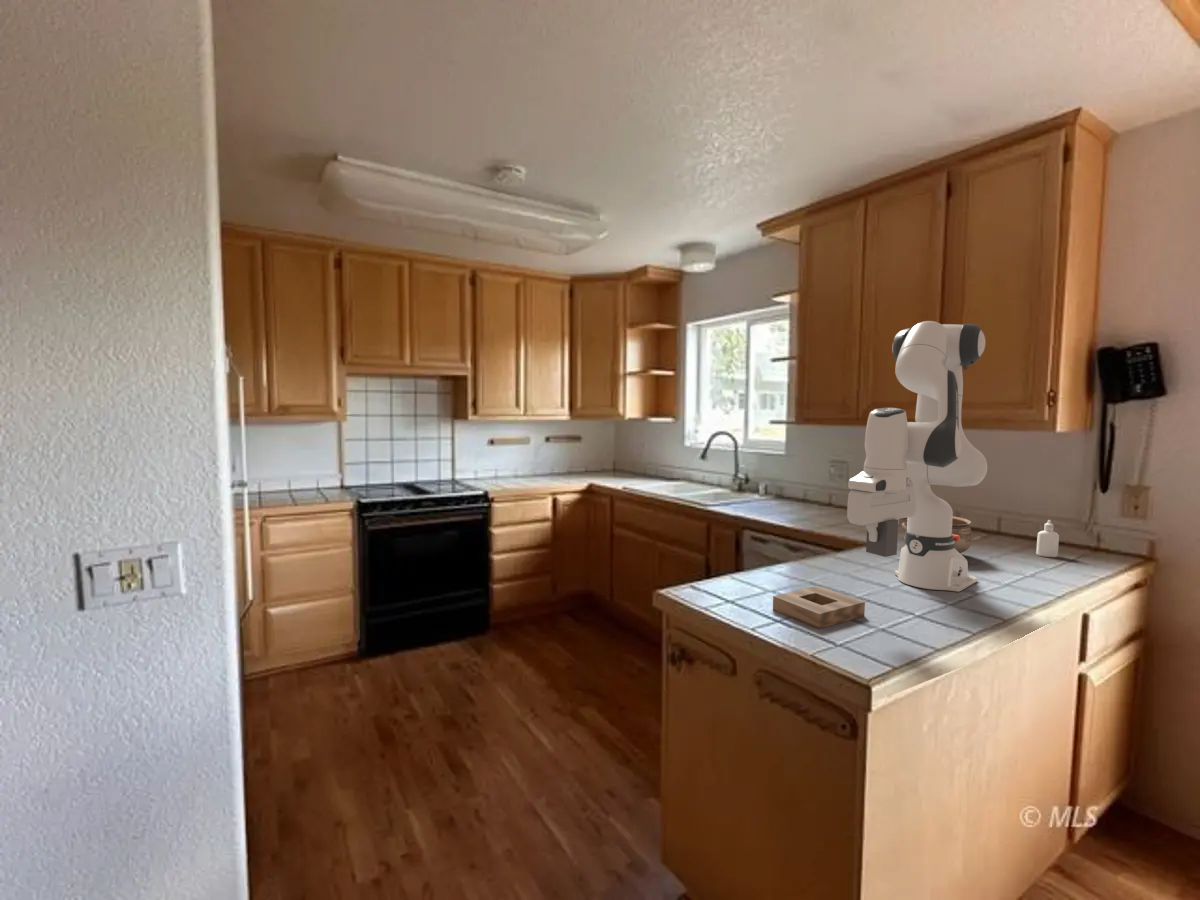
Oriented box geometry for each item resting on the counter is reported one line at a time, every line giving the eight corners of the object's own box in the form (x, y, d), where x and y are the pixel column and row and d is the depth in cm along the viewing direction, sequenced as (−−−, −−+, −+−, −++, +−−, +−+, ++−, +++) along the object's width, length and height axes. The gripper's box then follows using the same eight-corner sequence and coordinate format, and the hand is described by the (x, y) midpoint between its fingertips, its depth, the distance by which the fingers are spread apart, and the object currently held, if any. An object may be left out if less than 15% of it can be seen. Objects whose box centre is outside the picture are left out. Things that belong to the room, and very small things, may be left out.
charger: (877, 549, 142) (878, 514, 141) (896, 554, 137) (898, 518, 137) (866, 551, 140) (867, 516, 139) (885, 557, 135) (887, 520, 135)
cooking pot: (993, 560, 195) (995, 522, 193) (963, 569, 184) (966, 530, 183) (916, 543, 215) (917, 510, 214) (886, 551, 205) (887, 516, 204)
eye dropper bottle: (1037, 553, 203) (1040, 517, 202) (1058, 556, 199) (1061, 520, 198) (1035, 555, 200) (1037, 519, 199) (1056, 558, 196) (1058, 522, 195)
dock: (817, 598, 157) (817, 585, 157) (864, 616, 145) (864, 601, 145) (772, 609, 149) (773, 596, 149) (818, 628, 137) (819, 613, 137)
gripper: (899, 474, 145) (897, 531, 146) (843, 481, 135) (840, 542, 136) (925, 478, 139) (922, 536, 141) (868, 485, 129) (865, 548, 131)
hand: (881, 539), depth 138 cm, fingers closed on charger, 4 cm apart
